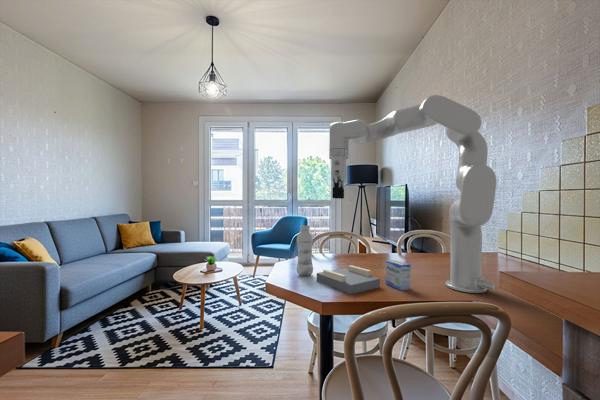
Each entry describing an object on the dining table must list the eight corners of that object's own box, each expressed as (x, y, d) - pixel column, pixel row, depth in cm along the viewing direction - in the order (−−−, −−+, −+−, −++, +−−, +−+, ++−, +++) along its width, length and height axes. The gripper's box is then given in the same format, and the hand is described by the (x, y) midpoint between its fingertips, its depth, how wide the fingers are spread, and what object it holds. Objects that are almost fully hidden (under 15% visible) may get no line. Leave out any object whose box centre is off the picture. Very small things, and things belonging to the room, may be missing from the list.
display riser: (379, 287, 100) (379, 272, 100) (350, 294, 92) (351, 278, 92) (343, 275, 115) (344, 263, 115) (316, 281, 107) (316, 267, 107)
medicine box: (385, 284, 104) (385, 260, 104) (394, 283, 105) (395, 259, 105) (400, 290, 96) (401, 265, 96) (410, 289, 98) (411, 264, 98)
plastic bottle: (313, 277, 111) (313, 226, 111) (296, 277, 112) (296, 226, 112) (312, 273, 118) (313, 225, 118) (296, 273, 118) (297, 225, 118)
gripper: (346, 150, 103) (345, 198, 103) (350, 157, 119) (350, 198, 119) (325, 151, 105) (325, 198, 105) (332, 158, 121) (332, 198, 121)
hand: (338, 198), depth 112 cm, fingers open, 9 cm apart
